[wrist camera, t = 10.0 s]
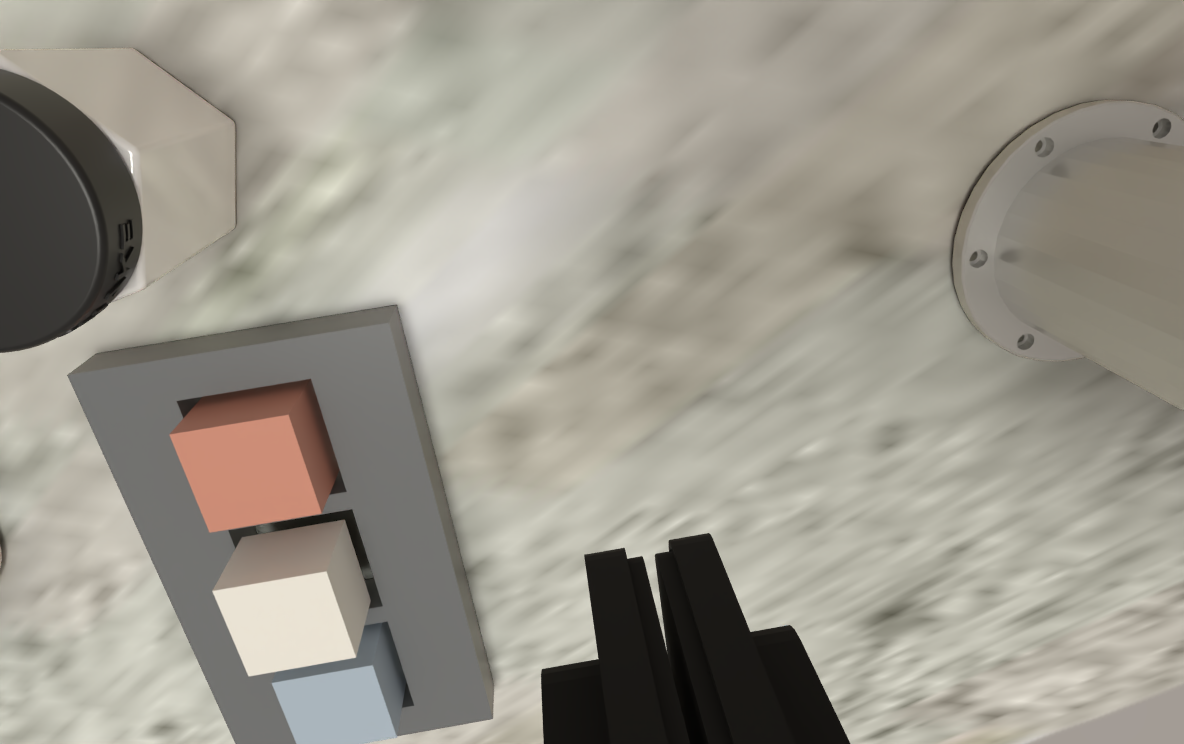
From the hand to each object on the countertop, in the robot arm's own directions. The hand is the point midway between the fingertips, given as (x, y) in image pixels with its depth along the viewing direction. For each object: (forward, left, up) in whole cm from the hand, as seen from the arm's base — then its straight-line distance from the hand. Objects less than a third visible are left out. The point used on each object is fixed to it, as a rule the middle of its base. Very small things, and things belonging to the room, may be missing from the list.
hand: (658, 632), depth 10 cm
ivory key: (+15, +15, -25) cm, 32 cm away
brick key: (+15, +8, -26) cm, 31 cm away
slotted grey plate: (+15, +15, -27) cm, 34 cm away
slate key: (+15, +22, -26) cm, 37 cm away
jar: (+17, -5, -27) cm, 33 cm away
